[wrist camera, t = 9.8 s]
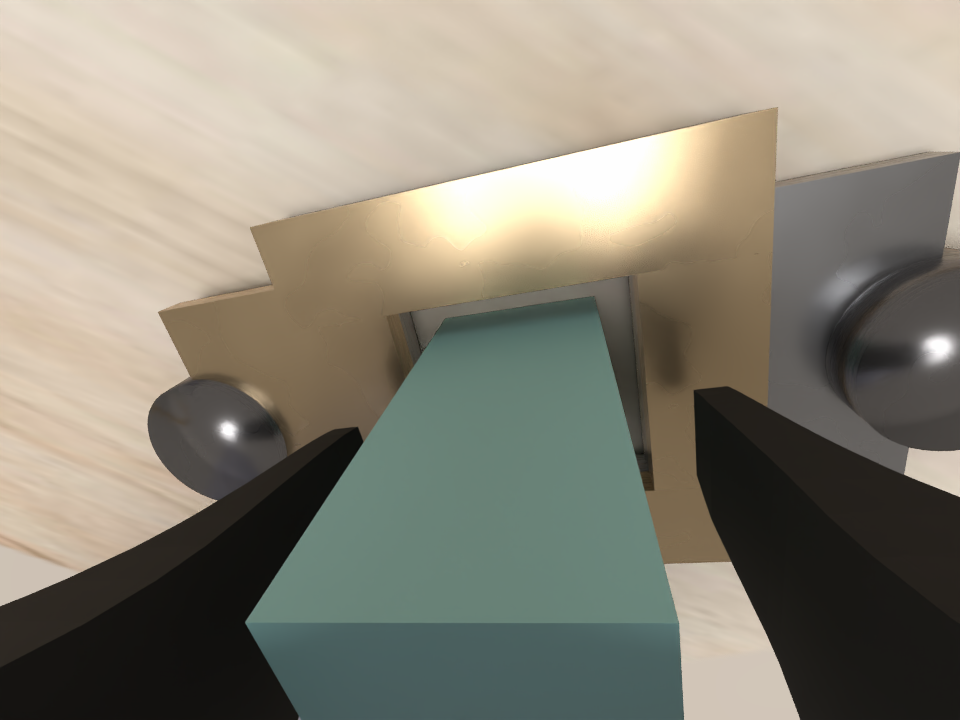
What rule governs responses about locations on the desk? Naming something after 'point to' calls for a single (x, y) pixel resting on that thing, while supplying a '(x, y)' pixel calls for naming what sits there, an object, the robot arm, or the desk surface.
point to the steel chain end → (858, 308)
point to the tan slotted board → (489, 274)
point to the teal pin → (485, 545)
